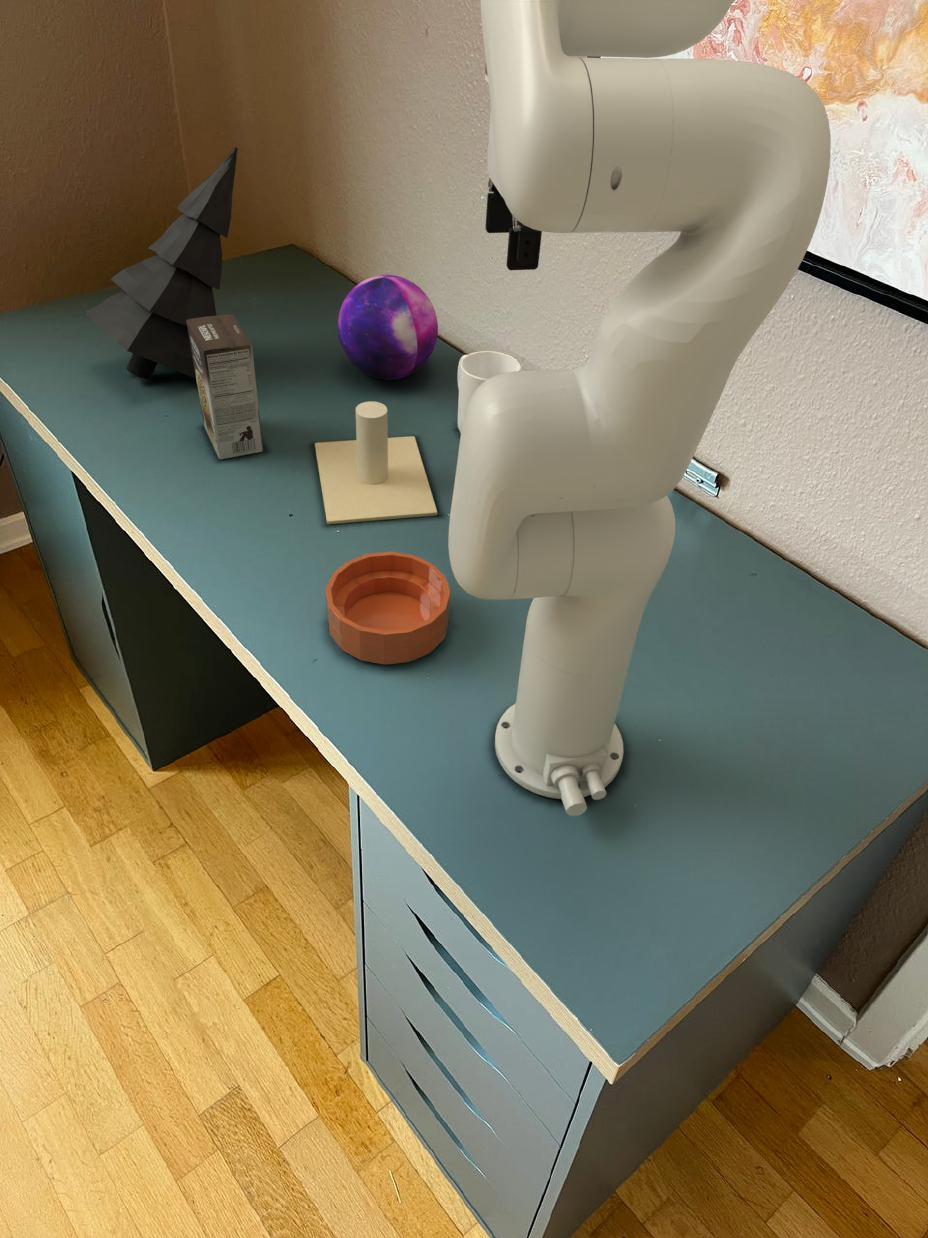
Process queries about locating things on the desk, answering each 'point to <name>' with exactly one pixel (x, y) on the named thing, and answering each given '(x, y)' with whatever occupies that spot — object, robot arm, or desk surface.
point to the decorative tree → (172, 281)
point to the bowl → (388, 607)
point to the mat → (371, 502)
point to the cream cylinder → (372, 442)
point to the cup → (480, 374)
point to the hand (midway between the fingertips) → (510, 249)
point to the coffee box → (226, 384)
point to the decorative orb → (387, 327)
